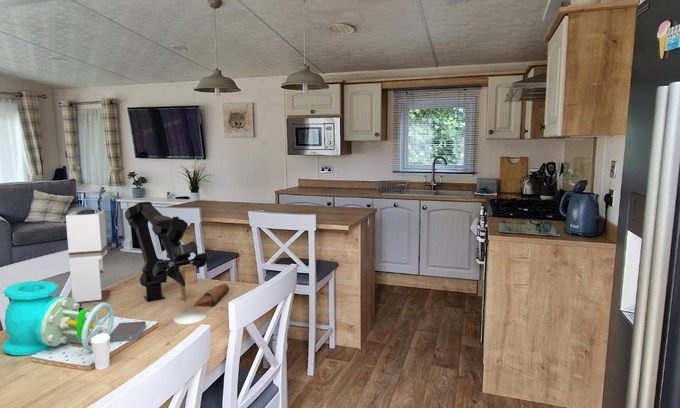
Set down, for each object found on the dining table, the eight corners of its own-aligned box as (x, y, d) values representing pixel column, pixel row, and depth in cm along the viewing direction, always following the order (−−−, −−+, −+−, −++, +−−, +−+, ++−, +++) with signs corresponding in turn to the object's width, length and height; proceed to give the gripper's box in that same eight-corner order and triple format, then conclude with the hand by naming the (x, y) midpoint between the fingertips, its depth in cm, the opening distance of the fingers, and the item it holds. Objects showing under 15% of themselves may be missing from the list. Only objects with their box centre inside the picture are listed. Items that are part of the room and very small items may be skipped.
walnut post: (181, 299, 144) (179, 266, 143) (191, 296, 147) (190, 263, 146) (186, 302, 141) (185, 268, 140) (197, 299, 144) (196, 266, 143)
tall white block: (105, 304, 159) (98, 214, 154) (73, 307, 155) (65, 215, 151) (110, 294, 169) (104, 210, 165) (80, 297, 166) (73, 211, 162)
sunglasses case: (209, 290, 174) (216, 277, 173) (223, 299, 174) (231, 286, 173) (192, 306, 156) (200, 292, 155) (208, 315, 156) (217, 301, 155)
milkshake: (94, 363, 114) (92, 328, 113) (115, 362, 114) (112, 328, 113) (86, 371, 110) (83, 336, 108) (107, 370, 110) (104, 335, 109)
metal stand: (119, 328, 136) (119, 323, 136) (145, 326, 138) (145, 321, 138) (109, 342, 127) (108, 336, 126) (137, 340, 128) (136, 333, 128)
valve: (30, 277, 129) (123, 291, 128) (28, 331, 131) (120, 345, 130) (-11, 293, 115) (94, 308, 113) (-12, 352, 117) (90, 368, 116)
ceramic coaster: (169, 317, 146) (169, 315, 146) (200, 309, 153) (200, 308, 153) (178, 327, 137) (178, 325, 137) (211, 319, 144) (211, 317, 144)
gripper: (154, 238, 137) (170, 277, 131) (205, 231, 151) (222, 266, 145) (145, 257, 144) (161, 295, 138) (195, 248, 157) (211, 282, 151)
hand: (190, 284), depth 143 cm, fingers closed on walnut post, 4 cm apart
